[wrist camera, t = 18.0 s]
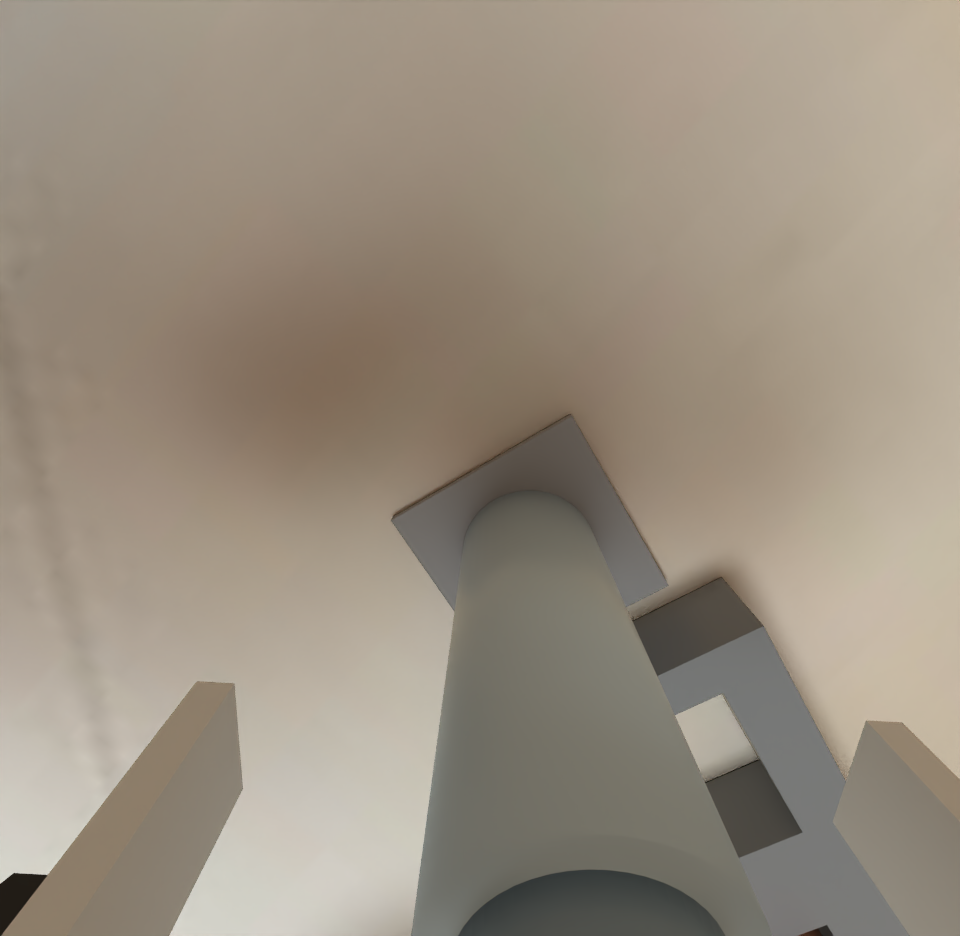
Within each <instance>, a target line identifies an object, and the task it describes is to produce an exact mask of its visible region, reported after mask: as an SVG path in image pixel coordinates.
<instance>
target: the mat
mask: <svg viewBox="0 0 960 936" xmlns="http://www.w3.org/2000/svg"><path fill="white" fill-rule="evenodd" d="M526 490H532V491H542V492H547V493H551V494H554V495H556V496H559V497H561V498H563V499H565V500H566V501H568V502H569V503H571V504H572V505H573V506H575V507H576V508H577V509H578V510H579V511H580V512H581V513H582V515H583V516H584V517H585V519H586V520H587V522H588V524H589V526H590V528H591V530H592V532H593V534H594V537H595V539H596V541H597V543H598V546H599V548H600V550H601V552H602V554H603V557H604V559H605V561H606V563H607V566H608V568H609V570H610V572H611V574H612V577H613V579H614V581H615V583H616V586H617V588H618V590H619V592H620V595H621V597H622V599H623V601H624V603H625V606H626V607H627V606H629V605H631V604H633V603H635V602H637V601H639V600H641V599H643V598H645V597H647V596H649V595H651V594H653V593H655V592H657V591H659V590H661V589H663V588H665V587H667V586H669V585H668V584H667V582H666V580H665V578H664V577H663V575H662V573H661V571H660V570H659V568H658V566H657V564H656V563H655V561H654V559H653V557H652V556H651V554H650V552H649V550H648V548H647V547H646V545H645V543H644V541H643V540H642V538H641V536H640V534H639V533H638V531H637V529H636V527H635V526H634V524H633V522H632V520H631V519H630V517H629V515H628V513H627V512H626V510H625V508H624V506H623V505H622V503H621V501H620V499H619V498H618V496H617V494H616V492H615V490H614V489H613V487H612V485H611V483H610V482H609V480H608V478H607V476H606V475H605V473H604V471H603V469H602V468H601V466H600V464H599V462H598V461H597V459H596V457H595V455H594V454H593V452H592V450H591V448H590V447H589V445H588V443H587V441H586V440H585V438H584V436H583V434H582V432H581V431H580V429H579V427H578V425H577V424H576V422H575V420H574V418H573V417H572V415H571V414H570V415H568V416H566V417H565V418H563V419H561V420H559V421H558V422H556V423H554V424H553V425H551V426H549V427H547V428H546V429H544V430H542V431H540V432H539V433H537V434H535V435H534V436H532V437H530V438H528V439H527V440H525V441H523V442H521V443H520V444H518V445H516V446H515V447H513V448H511V449H509V450H508V451H506V452H504V453H502V454H501V455H499V456H497V457H495V458H494V459H492V460H490V461H489V462H487V463H485V464H483V465H482V466H480V467H478V468H476V469H475V470H473V471H471V472H470V473H468V474H466V475H464V476H463V477H461V478H459V479H457V480H456V481H454V482H452V483H451V484H449V485H447V486H445V487H444V488H442V489H440V490H438V491H437V492H435V493H433V494H432V495H430V496H428V497H426V498H425V499H423V500H421V501H419V502H418V503H416V504H414V505H413V506H411V507H409V508H407V509H406V510H404V511H402V512H400V513H399V514H397V515H395V516H394V517H393V518H392V520H391V521H392V523H393V524H394V525H395V527H396V528H397V530H398V531H399V533H400V534H401V535H402V537H403V538H404V540H405V541H406V543H407V544H408V546H409V547H410V548H411V550H412V551H413V553H414V554H415V556H416V557H417V558H418V560H419V561H420V563H421V564H422V566H423V567H424V569H425V570H426V571H427V573H428V574H429V576H430V577H431V579H432V580H433V582H434V583H435V584H436V586H437V587H438V589H439V590H440V592H441V593H442V594H443V596H444V597H445V599H446V600H447V602H448V603H449V605H450V606H451V607H452V609H453V610H454V612H455V605H456V597H457V590H458V582H459V575H460V567H461V560H462V552H463V545H464V539H465V535H466V532H467V530H468V528H469V525H470V524H471V522H472V520H473V519H474V517H475V516H476V515H477V514H478V513H479V511H481V510H482V509H483V508H484V507H485V506H486V505H487V504H489V503H490V502H492V501H493V500H495V499H497V498H499V497H501V496H504V495H506V494H509V493H513V492H517V491H526Z"/></svg>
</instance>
